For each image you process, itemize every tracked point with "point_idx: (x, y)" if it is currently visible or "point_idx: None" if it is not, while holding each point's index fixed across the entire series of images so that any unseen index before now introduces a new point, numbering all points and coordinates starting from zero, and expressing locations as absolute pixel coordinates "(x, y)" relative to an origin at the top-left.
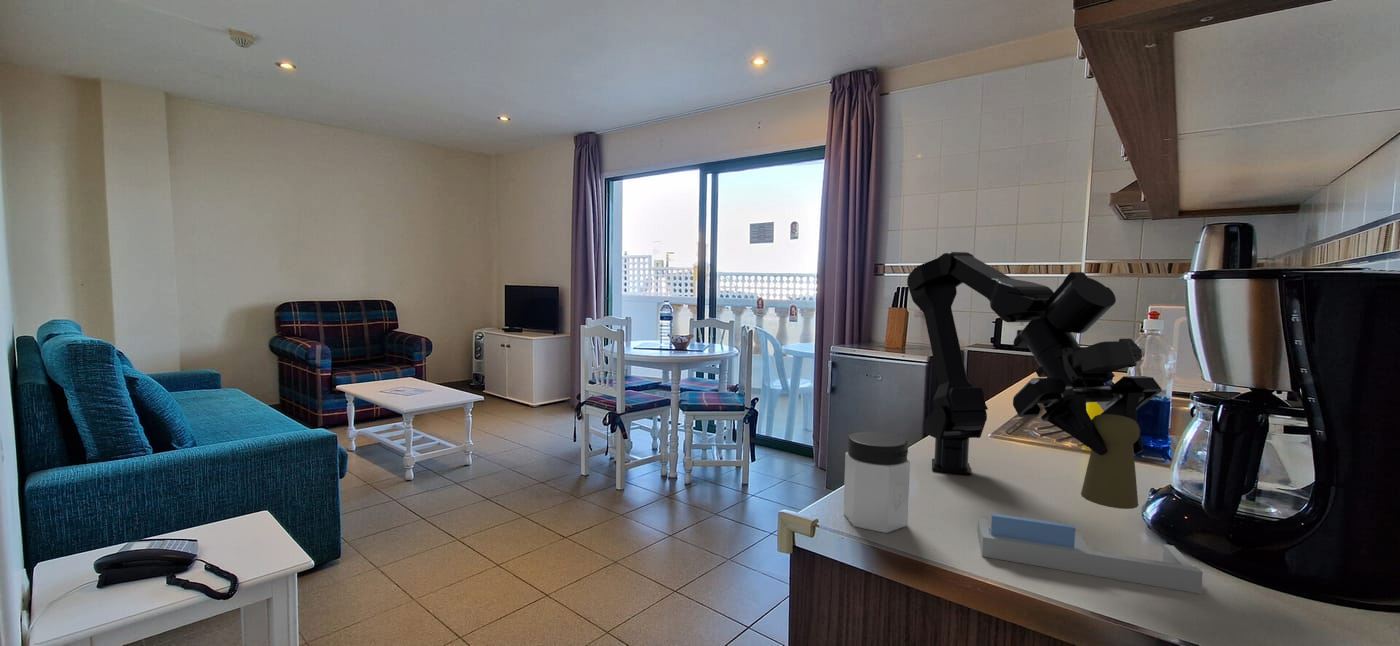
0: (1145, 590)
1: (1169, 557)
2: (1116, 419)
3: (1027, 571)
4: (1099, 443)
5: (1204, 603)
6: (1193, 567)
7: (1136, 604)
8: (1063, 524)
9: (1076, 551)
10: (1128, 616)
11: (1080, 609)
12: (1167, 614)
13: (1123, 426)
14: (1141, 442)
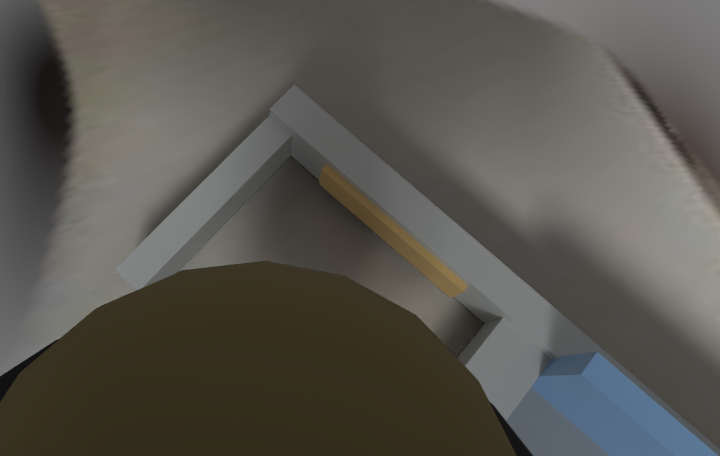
0: (434, 184)
1: (186, 250)
2: (401, 435)
3: (695, 392)
4: (530, 452)
5: (341, 82)
6: (285, 114)
7: (537, 145)
8: (616, 396)
9: (576, 332)
10: (614, 116)
11: (708, 180)
12: (503, 86)
13: (397, 318)
14: (24, 367)
